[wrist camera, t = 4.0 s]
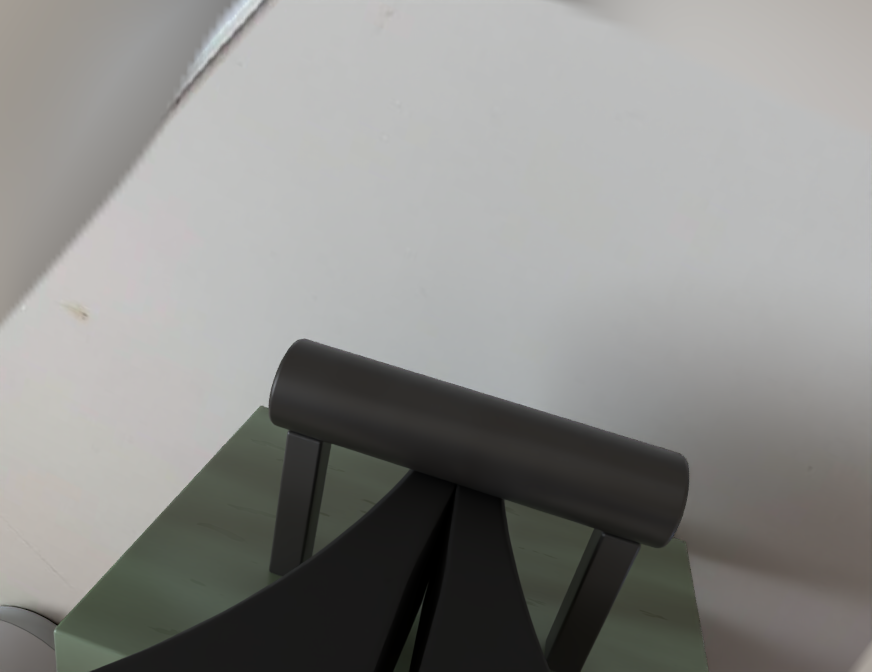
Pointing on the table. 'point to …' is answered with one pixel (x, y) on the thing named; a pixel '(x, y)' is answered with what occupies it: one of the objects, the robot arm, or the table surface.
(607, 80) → the table surface
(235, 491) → the drawer
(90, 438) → the table surface
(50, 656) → the energy drink can
